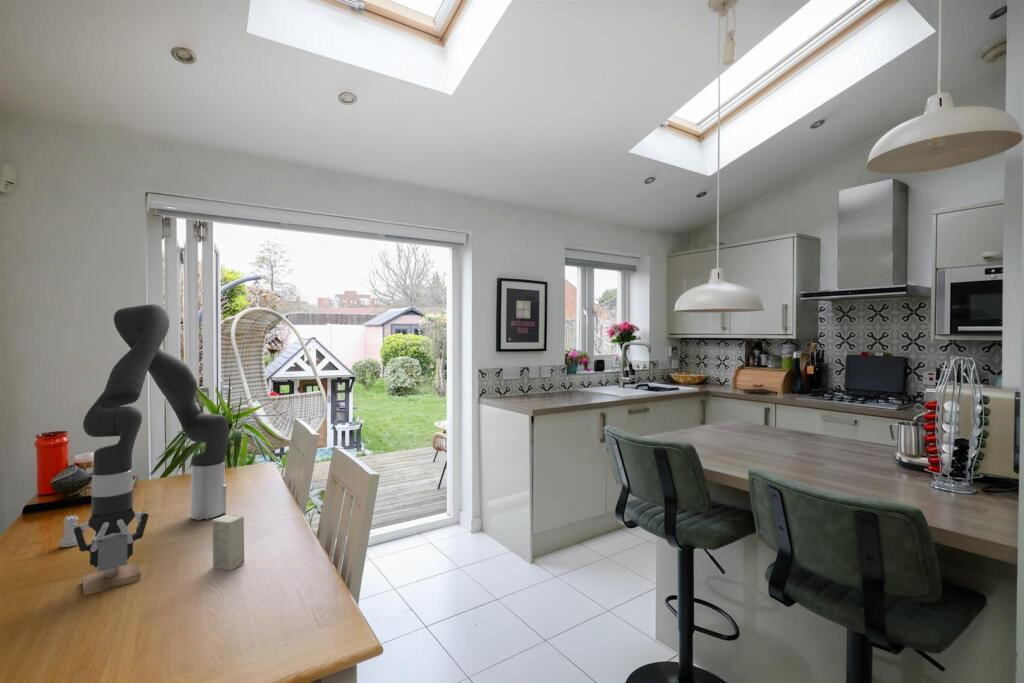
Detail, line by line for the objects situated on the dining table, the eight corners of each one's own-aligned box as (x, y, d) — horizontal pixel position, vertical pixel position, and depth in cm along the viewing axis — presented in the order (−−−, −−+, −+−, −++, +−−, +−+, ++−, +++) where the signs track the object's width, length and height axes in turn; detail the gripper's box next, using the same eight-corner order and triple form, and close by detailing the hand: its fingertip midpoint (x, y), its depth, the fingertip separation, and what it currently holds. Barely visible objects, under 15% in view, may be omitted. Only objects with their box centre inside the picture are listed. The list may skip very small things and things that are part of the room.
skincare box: (244, 563, 121) (245, 516, 122) (229, 571, 117) (230, 522, 117) (226, 559, 123) (227, 513, 124) (210, 567, 119) (211, 519, 119)
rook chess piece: (67, 549, 129) (68, 520, 129) (55, 547, 130) (55, 518, 130) (85, 542, 133) (86, 514, 133) (73, 541, 134) (73, 513, 134)
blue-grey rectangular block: (124, 557, 116) (124, 530, 116) (127, 564, 112) (127, 536, 112) (96, 564, 112) (96, 536, 112) (98, 572, 108) (98, 543, 108)
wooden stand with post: (135, 568, 118) (136, 534, 118) (140, 580, 113) (141, 544, 113) (81, 582, 111) (82, 546, 111) (84, 595, 105) (84, 557, 106)
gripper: (147, 481, 120) (146, 548, 120) (70, 493, 110) (69, 566, 109) (152, 487, 114) (151, 557, 114) (72, 501, 104) (70, 578, 104)
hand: (111, 561), depth 112 cm, fingers closed on blue-grey rectangular block, 5 cm apart
